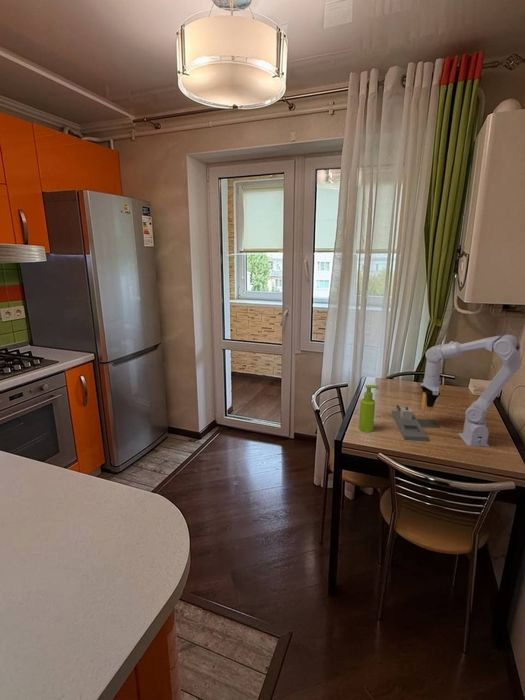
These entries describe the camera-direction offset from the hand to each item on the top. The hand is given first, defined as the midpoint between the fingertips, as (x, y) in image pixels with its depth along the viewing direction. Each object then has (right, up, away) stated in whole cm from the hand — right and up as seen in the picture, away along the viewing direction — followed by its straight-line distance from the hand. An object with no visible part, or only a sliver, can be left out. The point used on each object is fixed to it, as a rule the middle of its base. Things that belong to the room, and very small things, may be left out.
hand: (428, 404), depth 158 cm
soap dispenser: (-27, -11, -1) cm, 29 cm away
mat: (+2, -9, +4) cm, 10 cm away
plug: (0, -2, +1) cm, 2 cm away
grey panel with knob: (-8, -9, +5) cm, 13 cm away
